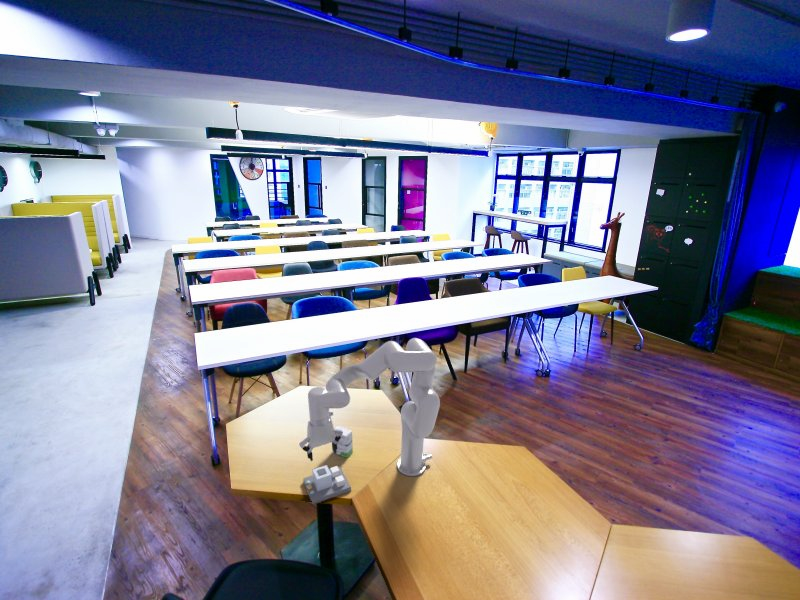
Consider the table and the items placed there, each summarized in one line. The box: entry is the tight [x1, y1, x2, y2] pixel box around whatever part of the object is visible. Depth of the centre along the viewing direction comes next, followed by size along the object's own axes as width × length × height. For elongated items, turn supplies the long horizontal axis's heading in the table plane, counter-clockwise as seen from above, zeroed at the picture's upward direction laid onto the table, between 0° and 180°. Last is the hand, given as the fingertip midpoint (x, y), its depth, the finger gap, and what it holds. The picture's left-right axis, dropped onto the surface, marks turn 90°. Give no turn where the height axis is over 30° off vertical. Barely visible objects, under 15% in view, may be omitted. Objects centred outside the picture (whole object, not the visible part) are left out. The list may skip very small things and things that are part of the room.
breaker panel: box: [302, 465, 352, 505], centre depth 168 cm, size 16×13×5 cm
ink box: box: [331, 425, 354, 459], centre depth 187 cm, size 9×5×12 cm, turn 62°
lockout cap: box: [312, 464, 332, 491], centre depth 166 cm, size 6×6×6 cm
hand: (322, 454), depth 163 cm, fingers open, 9 cm apart
